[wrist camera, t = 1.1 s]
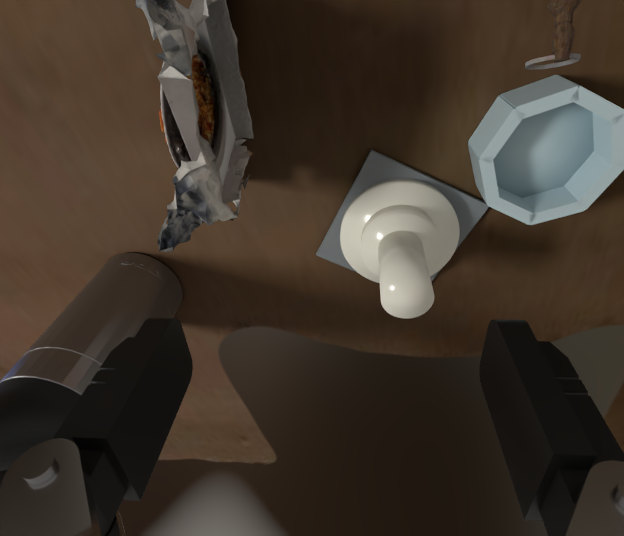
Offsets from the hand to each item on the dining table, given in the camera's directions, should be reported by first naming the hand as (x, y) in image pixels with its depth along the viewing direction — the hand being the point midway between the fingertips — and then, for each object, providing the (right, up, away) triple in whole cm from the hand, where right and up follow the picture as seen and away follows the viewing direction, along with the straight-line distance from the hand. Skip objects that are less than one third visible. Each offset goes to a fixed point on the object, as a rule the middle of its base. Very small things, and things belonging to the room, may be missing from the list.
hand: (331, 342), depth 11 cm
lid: (+8, +5, +29) cm, 31 cm away
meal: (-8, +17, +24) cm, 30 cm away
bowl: (+18, +12, +24) cm, 32 cm away
